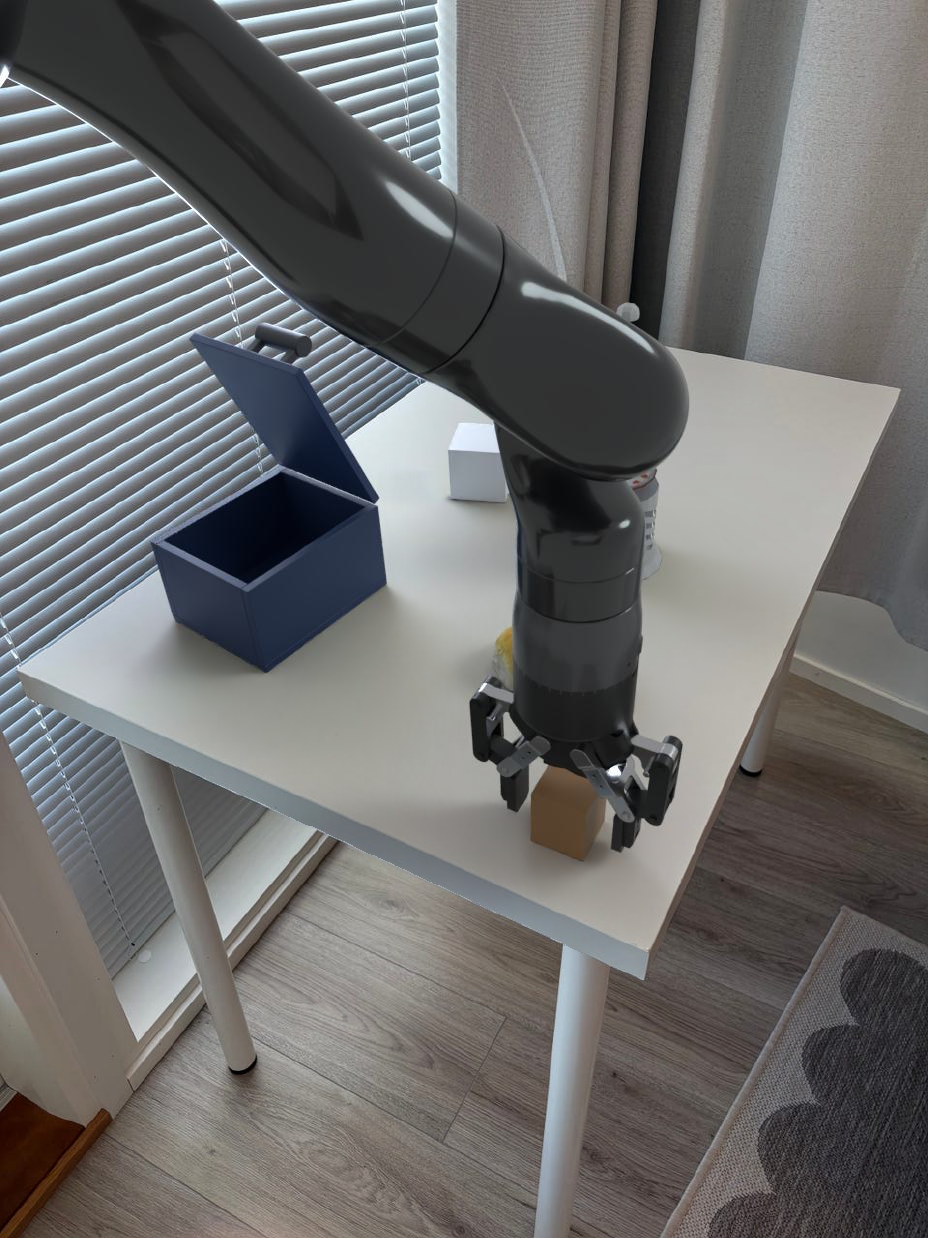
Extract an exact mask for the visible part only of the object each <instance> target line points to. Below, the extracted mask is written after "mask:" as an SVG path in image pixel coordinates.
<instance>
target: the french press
mask: <svg viewBox="0 0 928 1238" xmlns="http://www.w3.org/2000/svg"><path fill="white" fill-rule="evenodd" d="M616 313H617V314H618V315H620V316H621V317H623V318H624V319H626V320H627V321H629V322H630V323H632V322H635V321H638V320H639V318H640V308H639V307H638V306H637V305H636V303H631V302H624V303H622V304H621V305H619V306H618V307H617V310H616ZM657 472H658V469H657V467H656V468H655V469H653V470H652V471H650V472H648V473H646V474H644V475H642V476H640V477H637V478H634V479H630V480H626V481H627V483H628V484H629V485H630V487H631V488H632V489H633V491H634V492H635V494H636V495H637V497H638V498H639V500H640V502H641V504H642V507H643V510H644V514H645V519H646V542H645V554H644V564H643V575H642V581H643V580H645V579H648V578H650V577H651V576H652V575H653V574H654V573H655V572H657V571H658V570H659V569H660V567H661V563H662V560H663V555H662V552H661V549H660V548H659V545H658V544H657V543H655V542H654V539H655V530H656V519H657V507H658V501H659V491H660V483H659V481H658V479H657V476H656V475H657Z"/></svg>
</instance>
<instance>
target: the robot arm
mask: <svg viewBox="0 0 928 1238" xmlns="http://www.w3.org/2000/svg"><path fill="white" fill-rule="evenodd" d="M6 79H9V80H11V81H12V82H15V83H17V84H18V85H21V86H23V87H25V88H27V89H29V90H31V91H32V92H35V93H36V94H37V95H39V96H41V97H43V98H45V99H47V100H49V101H51V102H52V103H53V104H56V105H57V106H59V107H61V108H63V109H64V110H66V111H67V112H69V113H71V114H72V115H74V116H75V117H77V118H78V119H80V120H81V121H83V122H84V123H86V124H87V125H89V126H91V127H92V128H93V129H95V130H96V131H98V132H99V133H101V134H102V136H105V138H108V139H109V140H110V141H112V142H113V143H114V144H116V145H117V146H118V147H120V148H121V149H122V150H124V151H125V152H127V153H128V154H129V155H130V156H131V157H133V158H134V159H135V160H136V161H138V162H139V163H140V164H141V165H142V166H144V167H145V168H146V169H147V170H149V171H150V172H151V173H153V174H154V175H155V176H156V177H157V178H158V179H159V180H161V182H163V183H164V184H165V185H166V186H167V187H168V188H169V189H170V190H172V191H173V192H174V193H175V194H176V195H177V196H178V197H179V198H180V199H181V200H183V201H184V202H185V203H186V204H187V205H188V206H190V208H191V209H192V210H194V212H196V213H197V215H199V216H200V217H201V218H202V219H203V220H204V221H205V222H206V223H207V224H208V225H209V226H210V227H211V228H212V229H213V230H214V231H215V232H216V233H218V234H219V235H220V236H221V238H223V239H224V240H225V241H226V242H227V243H228V244H229V245H230V246H231V247H232V249H234V250H235V251H236V252H237V253H238V254H239V255H240V256H241V257H242V258H243V259H244V260H245V261H246V262H247V263H248V264H249V265H250V266H251V267H252V268H253V269H255V270H256V271H257V272H258V273H259V274H260V275H261V276H262V277H263V278H264V279H265V280H266V281H267V282H268V283H270V284H271V285H272V286H274V287H275V288H276V289H277V290H278V291H279V292H280V293H281V294H283V295H284V296H285V297H287V299H289V300H290V301H292V303H294V304H295V305H296V306H298V307H299V308H300V309H302V310H303V311H305V312H306V313H307V314H309V315H310V316H311V317H312V318H314V319H316V320H317V321H319V322H320V323H322V324H323V325H325V326H327V327H328V328H330V329H332V330H333V331H335V332H337V333H338V334H340V335H341V336H343V337H344V338H346V339H347V340H350V341H351V342H353V343H354V344H357V345H358V346H360V347H362V348H364V349H365V350H367V351H369V352H371V353H372V354H374V355H376V356H378V357H380V358H382V360H385V361H386V362H388V363H391V364H392V365H394V366H396V367H398V368H399V369H401V370H403V371H405V372H407V373H408V374H410V375H412V376H414V377H416V378H419V379H420V380H422V381H425V382H427V383H429V384H431V385H434V386H436V387H438V388H439V389H440V388H441V389H442V390H444V391H446V392H448V393H450V394H452V395H454V396H455V397H457V398H459V399H461V400H463V401H464V402H466V403H468V404H469V405H471V406H472V407H474V408H475V409H477V410H478V411H480V413H482V414H483V415H485V416H486V417H488V418H489V419H490V420H492V423H493V424H494V429H495V434H496V439H497V443H498V448H499V452H500V457H501V462H502V466H503V471H504V475H505V480H506V484H507V487H508V491H509V494H508V495H509V497H510V501H511V504H512V509H513V513H514V517H515V525H516V528H515V594H514V599H513V605H512V615H511V618H512V619H511V627H512V641H513V691H509V690H505V689H503V683H502V681H501V679H500V678H497V677H496V676H494V675H489V676H486V678H485V679H484V681H483V682H482V683H481V685H480V686H479V688H478V689H477V690H476V691H475V693H473V695H472V697H471V698H470V699H469V702H468V704H469V705H468V707H469V719H470V732H471V733H470V734H471V745H472V747H471V748H472V755H473V757H474V758H475V759H476V760H477V761H479V762H481V763H487V762H488V761H490V763H493V764H494V765H495V767H496V768H495V769H496V771H497V773H499V784H500V785H499V787H500V797H501V798H502V800H503V801H505V802H506V809H507V810H509V811H510V812H515V813H518V812H519V811H520V810H521V808H522V806H523V805H524V802H526V800H527V798H528V795H529V792H530V765H531V764H532V763H533V762H534V761H535V760H537V759H538V758H540V759H542V760H543V761H542V762H543V764H544V765H547V766H548V765H550V766H553V767H557V768H564V769H567V770H568V771H570V772H572V773H574V774H575V775H578V776H581V777H583V778H586V779H587V778H588V780H589V782H590V783H591V785H592V786H593V788H594V789H595V791H596V793H597V794H598V796H599V797H600V798H601V799H605V798H606V801H607V802H608V803H609V805H610V806H611V807H612V810H613V811H614V812H615V813H614V816H613V818H612V829H611V842H610V850H612V851H614V852H617V853H619V854H622V852H623V851H624V849H625V848H626V849H631V848H632V847H633V846H634V844H635V842H636V840H637V838H638V836H639V834H640V832H641V827H642V826H641V825H642V820H643V819H644V821H645V822H646V823H647V824H648V825H650V826H653V827H659V826H661V825H662V824H663V822H664V820H665V815H666V814H667V812H668V809H669V808H670V805H671V804H672V803H673V800H674V798H675V794H676V788H677V784H678V783H677V782H678V776H679V770H680V766H681V765H680V764H681V758H682V753H683V747H684V745H683V742H682V740H681V739H680V738H679V737H677V736H675V735H666V736H665V737H664V738H663V740H662V742H661V741H658V740H655V739H652V738H649V737H647V736H644V735H640V731H639V729H638V727H637V725H636V724H635V720H634V713H635V706H636V705H635V704H636V695H637V685H638V683H637V682H638V675H639V664H640V654H641V653H642V649H643V642H644V636H643V633H642V631H643V603H642V586H643V580H642V575H643V564H644V554H645V542H646V519H645V514H644V510H643V507H642V504H641V502H640V500H639V498H638V497H637V495H636V494H635V492H634V491H633V489H632V488H631V487H630V485H629V484H628V483H627V481H626V480H630V479H634V478H637V477H640V476H642V475H644V474H646V473H648V472H650V471H652V470H653V469H655V468H656V469H657V468H658V467H659V466H661V464H663V463H664V462H666V460H667V459H668V458H669V457H670V456H671V455H672V454H673V452H674V451H675V450H676V448H677V447H678V445H679V443H680V441H681V439H682V438H683V435H684V433H685V430H686V428H687V424H688V422H689V421H688V419H689V415H690V394H689V393H690V392H689V387H688V383H687V379H686V376H685V374H684V371H683V368H682V367H681V365H680V363H679V361H678V360H677V358H676V357H675V356H674V355H673V353H672V352H671V351H670V350H669V349H668V348H667V347H666V345H664V344H662V343H661V342H660V341H659V340H657V339H656V338H655V337H653V336H652V335H650V334H649V333H647V332H646V331H645V330H643V329H641V328H640V327H638V326H637V325H635V324H633V323H632V322H629V321H627V320H626V319H624V318H623V317H621V316H620V315H618V314H617V312H615V311H614V310H612V309H610V308H609V307H608V306H606V305H604V304H602V303H601V302H599V301H598V300H596V299H595V298H593V297H592V296H591V295H588V294H587V293H585V292H583V291H582V290H580V289H578V288H577V287H576V286H575V285H572V284H570V283H569V282H567V281H565V280H564V279H562V278H561V277H559V276H558V275H556V274H555V273H553V272H552V271H551V270H550V269H548V268H546V267H545V265H543V264H542V263H541V262H539V260H537V259H536V257H534V256H533V255H532V254H531V253H530V252H529V251H527V250H526V249H525V248H524V247H522V245H521V244H520V243H519V242H517V241H516V240H515V239H514V237H512V236H511V235H510V234H509V233H508V232H507V231H505V230H504V229H503V228H502V227H500V226H499V225H498V224H497V223H495V222H493V220H491V219H490V218H489V217H488V216H486V214H483V213H482V212H481V211H480V210H479V209H477V208H475V207H474V206H473V205H472V204H470V203H469V202H467V200H465V199H464V198H462V197H461V196H460V195H458V193H456V192H455V191H453V190H451V189H450V188H449V187H447V186H446V185H445V184H444V183H442V182H441V181H440V180H438V179H437V178H435V177H434V176H433V175H431V174H430V173H428V172H427V171H426V170H424V169H423V168H421V166H419V165H417V164H416V163H415V162H413V161H412V160H411V159H409V158H408V157H407V156H405V155H404V154H403V153H401V152H400V151H399V150H397V149H396V148H394V147H393V146H392V145H390V144H389V143H388V142H386V141H385V140H384V139H383V138H381V137H380V136H379V135H377V134H376V133H374V132H373V131H372V130H370V129H369V128H368V127H367V126H366V125H364V124H363V123H361V122H360V121H359V120H358V119H357V118H355V117H353V116H352V115H351V114H350V113H349V112H348V111H346V110H345V109H344V108H342V107H341V106H340V105H339V104H337V103H336V102H335V101H334V100H332V99H331V98H330V97H328V96H327V95H326V94H325V93H324V92H322V91H321V90H320V89H318V87H316V86H315V85H314V84H312V83H311V82H310V81H309V80H307V79H306V78H305V77H304V76H303V75H301V74H300V73H299V72H298V71H297V70H296V69H294V68H293V67H292V66H290V65H289V63H287V62H286V61H285V60H284V59H282V58H281V57H280V56H278V55H277V54H276V53H275V52H274V51H273V50H271V49H270V48H269V47H268V46H267V45H266V44H265V43H264V42H262V41H261V40H259V38H257V36H255V35H254V34H252V33H251V32H250V31H249V30H248V29H247V28H246V27H244V25H242V24H241V23H240V22H239V21H237V19H236V18H234V17H233V16H232V15H231V14H230V13H228V11H226V10H225V9H224V8H223V7H222V6H221V5H220V4H218V2H216V1H215V0H0V88H1V87H2V86H3V84H4V83H5V81H6ZM506 713H508V716H509V717H510V720H511V721H512V723H513V724H514V726H515V727H516V728H517V730H518V732H519V733H520V735H519V736H518V737H517V738H515V740H513V741H512V742H511V741H509V740H508V739H506V738H505V727H504V725H505V724H504V723H505V722H504V715H505V714H506ZM633 756H635V757H636V758H637V759H638V760H639V761H640V766H641V768H642V770H643V772H642V776H643V777H644V778H646V779H648V783H647V788H646V786H645V785H644V783H643V782H642V779H641V778H640V777H639V775H638V774H637V772H636V762H635V759H634V758H633ZM607 771H608V772H607Z"/></svg>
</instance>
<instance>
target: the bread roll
mask: <svg viewBox="0 0 928 1238" xmlns="http://www.w3.org/2000/svg"><path fill="white" fill-rule="evenodd" d="M491 662H492V665H493V667H494V669H495V671H496V674H497V676H498V679H499V680H500V682H501V683H502V684H503V685H504V686H505V687H506V689H508V691H510V692H513V641H512V626H509V627H507V628H506V629H505V630H503V632H501V633H500V634H499V636H498V637H497V638H496V640H495V644H494V647H493V654H492V659H491Z"/></svg>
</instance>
